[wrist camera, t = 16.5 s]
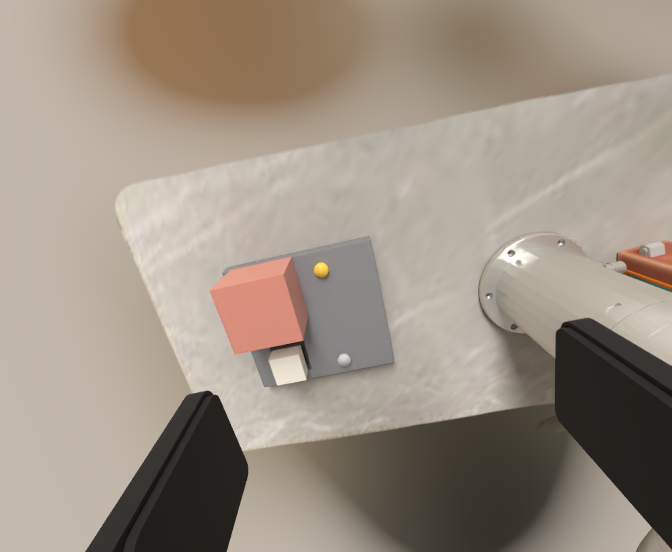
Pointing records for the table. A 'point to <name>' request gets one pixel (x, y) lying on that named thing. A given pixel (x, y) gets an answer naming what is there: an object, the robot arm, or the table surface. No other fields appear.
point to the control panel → (650, 264)
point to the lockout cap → (261, 305)
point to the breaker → (288, 365)
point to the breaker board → (337, 310)
